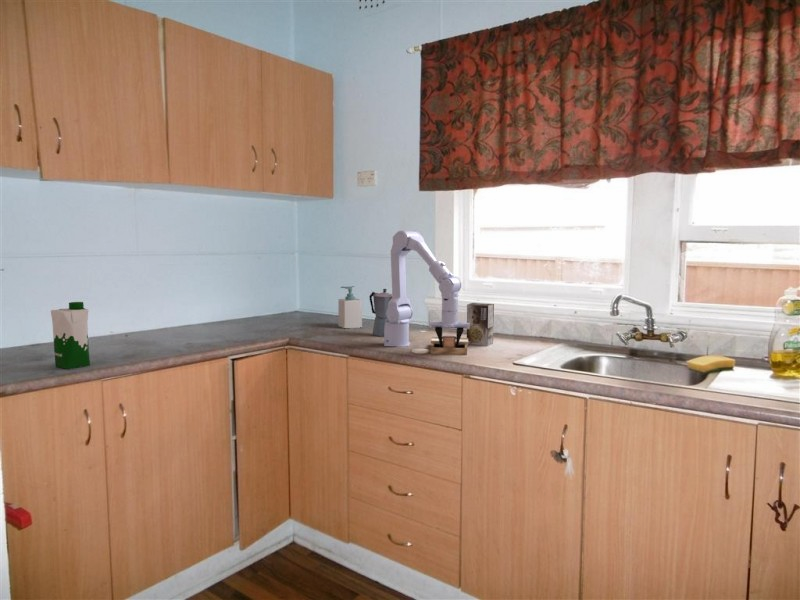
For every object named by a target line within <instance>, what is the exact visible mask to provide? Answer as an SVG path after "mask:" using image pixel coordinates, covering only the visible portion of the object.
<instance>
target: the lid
mask: <svg viewBox="0 0 800 600" xmlns="http://www.w3.org/2000/svg"><path fill="white" fill-rule="evenodd" d="M432 343H436V344H440V342H439V339H438V336H432V337H431V340H430V344H432ZM442 344H443V339H442ZM458 344H467V345H469V344H468V338H467V337H461V338H460V340H459V343H458Z"/></svg>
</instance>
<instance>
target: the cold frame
mask: <svg viewBox="0 0 800 600" xmlns="http://www.w3.org/2000/svg"><path fill="white" fill-rule="evenodd" d="M430 344H431V345H430V348H429V353H430V354H431V355H457V356H459V355H460V356H461V355H462V356H467V355H468V344H458V348H456V345H455V348H443V346H442V348H440V344H436V343H430Z"/></svg>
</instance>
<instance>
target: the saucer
mask: <svg viewBox="0 0 800 600" xmlns="http://www.w3.org/2000/svg"><path fill="white" fill-rule="evenodd" d="M411 352H412V353H414V354H428V353H430V349H428V348H413V349H411Z"/></svg>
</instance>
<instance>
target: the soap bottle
mask: <svg viewBox="0 0 800 600" xmlns="http://www.w3.org/2000/svg"><path fill="white" fill-rule="evenodd" d="M353 288H355V286H354V285H351V286H340V289H346V290H347V291H348V293H346V296H345V297H344V298H338V300H337V301H338V304H337V305H338V327H340V328H342V329H344V328H350V329H361V328H360V327H362V328H363V300H362V299H358V298H356V297H355V296H354V293H352V291H353Z"/></svg>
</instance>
